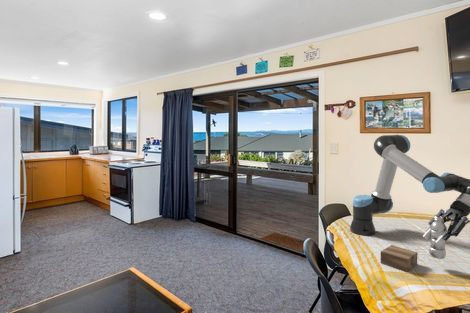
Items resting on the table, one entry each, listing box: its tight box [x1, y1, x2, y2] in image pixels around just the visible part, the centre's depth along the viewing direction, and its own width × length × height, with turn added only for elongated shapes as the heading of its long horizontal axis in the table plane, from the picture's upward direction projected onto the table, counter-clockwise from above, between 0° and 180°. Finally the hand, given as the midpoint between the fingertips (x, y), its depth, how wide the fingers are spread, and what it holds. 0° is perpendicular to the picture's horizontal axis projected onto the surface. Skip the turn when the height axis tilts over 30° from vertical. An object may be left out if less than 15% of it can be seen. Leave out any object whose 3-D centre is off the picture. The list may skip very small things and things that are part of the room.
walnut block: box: [380, 244, 419, 273], centre depth 135 cm, size 12×12×6 cm
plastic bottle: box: [428, 214, 448, 260], centre depth 129 cm, size 6×7×20 cm
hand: (431, 241), depth 128 cm, fingers closed on plastic bottle, 6 cm apart
